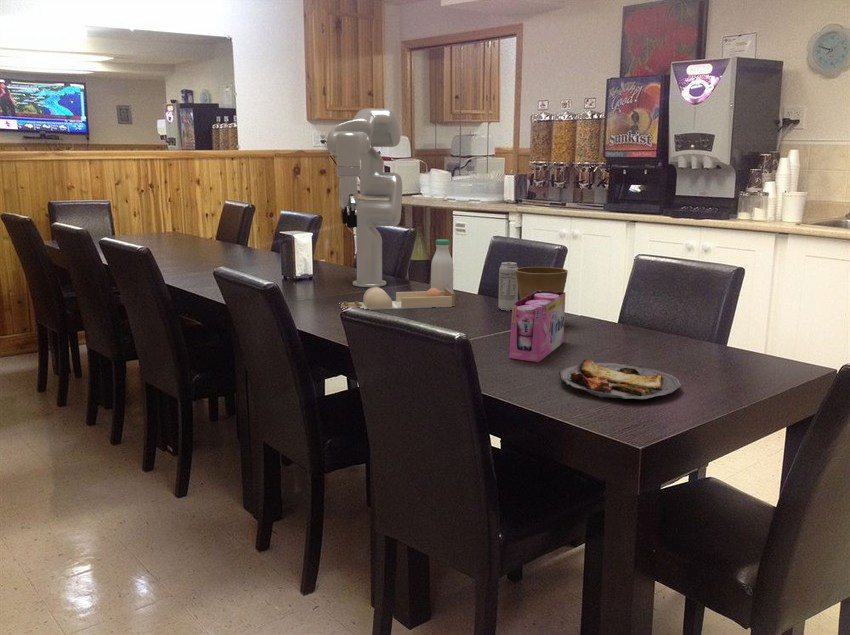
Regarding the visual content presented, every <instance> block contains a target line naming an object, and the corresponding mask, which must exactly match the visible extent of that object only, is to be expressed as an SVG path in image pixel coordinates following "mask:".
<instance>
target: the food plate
mask: <svg viewBox="0 0 850 635" xmlns="http://www.w3.org/2000/svg"><path fill="white" fill-rule="evenodd" d="M558 375H559V380H561V382H562V383H563V384H562V385H567V386H568V385H570V386H571V388H573V389H580V390H581V391H583V390H584V391H585V392H587V393H589V394H591V395H593V396H596V397H598V398H612V399H624V400H625V399H627V400H628V399H629V400H632V399H633V400H634V399H635V400H647V399H652V398H654V397H659V396H660V397H661V396H666V395H668V394H672V393H674V392H675V391H677V390H678V389H679V388H680V387H681V385H682V383H680V380H679V379H678V378H676V377H675V376H673V375H672V374H669V373H667V372H663V371H660V370H658V369H655V368H652V367H649V366H643V365H637V364H627V363H616V362H594V361H593V360H591V359H588V358H586V359H584V360H583V361H582V363H580V364H576V365H575V364H573V365H571V366H568V367H565V368H562V369H561V370H560V371H559V372H558ZM652 391H657V392H655V393H653V394H652ZM633 395H634V396H633ZM635 395H636V396H635Z"/></svg>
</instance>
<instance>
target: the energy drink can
mask: <svg viewBox="0 0 850 635" xmlns="http://www.w3.org/2000/svg"><path fill="white" fill-rule="evenodd" d="M517 264H518V263H517V262H515V261H514V262H512V261H505V262H501V264H500V266H499V268H498V269H499V270H498V272H499V274H498V277H499V278H498V306H497V307H498V308H499V310H500V309H501V310H506V311H505V312H511V311H510V310H512V304H514V303H515V302H517V301H519V298H518V296H519V290H518V284H517V277H516V269H518V268H519V266H518V265H517ZM501 310H500V311H501Z"/></svg>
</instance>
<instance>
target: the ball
mask: <svg viewBox="0 0 850 635" xmlns="http://www.w3.org/2000/svg"><path fill="white" fill-rule="evenodd" d="M426 291H427V293H426V297H440V296H441V293H440V291H439V290H438V289H436V288H431V287H430V288H429V289H428V290H426Z"/></svg>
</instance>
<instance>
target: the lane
mask: <svg viewBox="0 0 850 635" xmlns="http://www.w3.org/2000/svg"><path fill="white" fill-rule="evenodd" d="M427 291H428V290H426V291H425V290H423V291H398V292H397V291H396V292H395V300H392V298H391V296H389V294H388V293H387V292H386V291H385V290H384V289H383V288H381V287H368V288H367V290H366V291H365V292H364V294H363V296H362V297H363V298H362V302H361V301H358V303H359V304H362V306H361V307H360V308H364V309H369V310H368V311H374V310H375V311H376V310H379V311H381V310H398V309H399V310H402V309H405V310H406V309H407V310H408V309H427V308H429V309H430V308H431V309H432V307H436V308H453V307H452V306H456V293H455V292H454V291H453V292H452V291H451V290H450V289H448V288H444V291H440V293H441V296H440V297H426V293H427ZM340 303H342V304H344V302H339V303H338V305H339V304H340ZM351 303H355V301H354V302H353V301H352V302H351ZM341 308H342V307H340V309H341ZM343 309H345V308H343ZM343 309H341V311H342V310H343Z"/></svg>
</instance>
